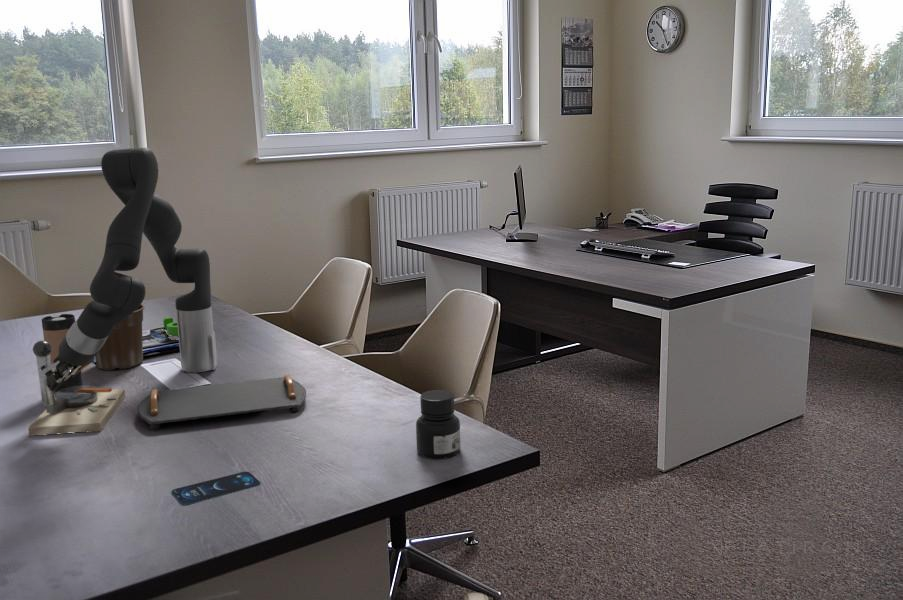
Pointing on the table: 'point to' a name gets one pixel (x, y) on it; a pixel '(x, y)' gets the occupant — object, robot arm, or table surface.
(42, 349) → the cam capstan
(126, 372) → the table surface
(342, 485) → the table surface
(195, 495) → the smartphone
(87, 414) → the flat beige board
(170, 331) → the tape dispenser
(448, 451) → the ink bottle
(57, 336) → the travel mug
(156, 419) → the serving board
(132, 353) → the plant pot
